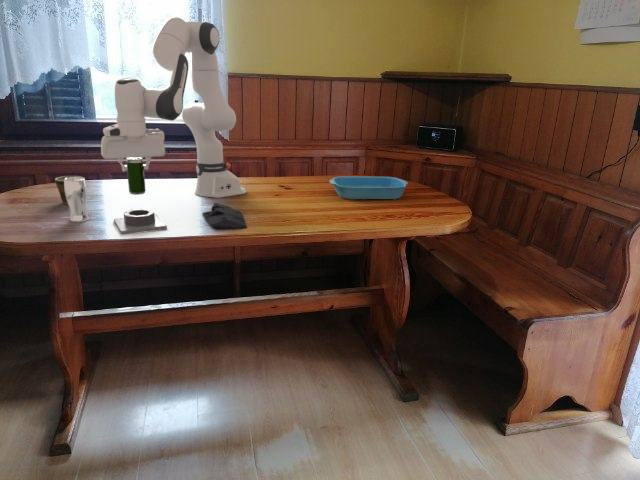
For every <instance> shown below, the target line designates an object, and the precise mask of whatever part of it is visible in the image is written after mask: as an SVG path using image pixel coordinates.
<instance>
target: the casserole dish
mask: <svg viewBox="0 0 640 480" xmlns="http://www.w3.org/2000/svg"><path fill="white" fill-rule="evenodd" d="M329 183H330V185H332V186H334V187H333V188H334V190H335V192H336V193H337V196H338V197H340V198H342V199H344V198H350V199H349V200H354V199H393V200H398V199H400V198H401V197H402V196H403V194H404V192H405V189H406V187H407V185H408V184H409V183H408V181H406V180H404V179H401V178H398V177H392V176H359V175H358V176H355V175H354V176H353V175H351V176H350V175H349V176H347V175H346V176H344V175H343V176H336V177H335V176H334V177H333V178H332V179H330V180H329ZM397 198H398V199H397Z"/></svg>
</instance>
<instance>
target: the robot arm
mask: <svg viewBox="0 0 640 480" xmlns="http://www.w3.org/2000/svg"><path fill="white" fill-rule="evenodd" d="M219 44H220V32H219V29H218V28H217V27H216V26H215V24H213V23H211V22H207V21H202V22H201V21H185V20H184V19H182V18H181V17H177V16H171V17H170V18H168V19H167V20H166V21H165V22H164V23H163V25H162V26H161V28H160V29H159V31H158V33H156V37H155V39H154V41H153V44H152V47H151V53H152V56H153V58H154V60H155V61H156V62H157V64H158V65H159V66H160V67H162V68H163V69H165V70H166V71H169V72H171V74H170V79H169V84H168V86H167V87H166V88H161V89H159V88H149V87H146V86H145V85H143V84H142V83H141V80H140V79H139V78H137V77H123V78H119V79H117V80H115V81H116V82H115V84H114V104H115V105H114V106H115V109H116V111H117V114H116V115H117V116H116V124H112V125H109V126H106V127H104V128H103V129H102V132H103V136H102V137H101V141H100V143H101V144H100V155H101V156H102V158H103V159H105V160H113V159H114V160H115V159H117V162H118V163H119V165H120V166H121V170H122V172H124V173H125V172H127V171H128V169H127V164H124V163H123V162H124V159H127V158H139V157H140V158H145V160H146V161H145V163H143V165H144V171H149V166H150V163H151V161H152V158H155V157H157V158H158V157H165V155H166V148H165V147H166V146H165V142H164V141H165V133H164V131H163V130H161V129H160V128H155V129H154V128H147V126H146V118H151V119H162V120H167V121H174V120H176V119H177V118H179V117H180V116H181V115H182V116H181V117H182V121H183V123H184V124H185V125H186V126H187V127H188V128H189V130H190V131H191V133H192V135H193V138H194V141H195V145H196V156H197V161H196V174H197V180H196V189H195V192H194V194H196V195H198V196H201V197H207V198H208V197H210V198H216V199H218V198H225V197H231V196H239V195H244V194H246V193H247V191H246V188H244V187H243V186H241V185H242V184H241V181H240V179H239V177H237V176H236V175H235V174H234V173H233V172H231V171H230V170H229V169H231V167H232V164H231V163H229V162H225V161H224V150H223V149H224V148H223V147H224V146H223V143H222V141H220V139H218V138H217V136H216V135H215V131H216V132H227V131H231V130H233V129H234V127H235V125H236V122H237V115H236V112H235V111H234V108H232V107H231V106H230V105H229V104H228V102H227V101H226V99H225V97H224V95H223V93H222V90H221V83H220V74H219V73H220V72H219V64H218V63H219V61H218V57H217V53H216V50H217V49H218V47H219ZM186 53H188V54H189V53H190V72H191V82H192V89H193V91H194V92H195V93H196V94H197V95H198V96H199V97H200V99H201V101H202V102H193V103H188V104H186V105H185V106H184V95H185V90H186V84H187V79H188V74H189V61H188V58H187V57H186Z"/></svg>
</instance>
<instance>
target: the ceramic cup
mask: <svg viewBox="0 0 640 480" xmlns="http://www.w3.org/2000/svg"><path fill="white" fill-rule="evenodd" d="M69 177H82V176H79V175H64V176H59V177H55V179H54V181H55V185H56V187H57V189H58V193H59V196H60V199H61V201H62V204H63V205H66V206H69V205H68V202H67V199H66V195H65V189H64V179H65V178H69Z"/></svg>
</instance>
